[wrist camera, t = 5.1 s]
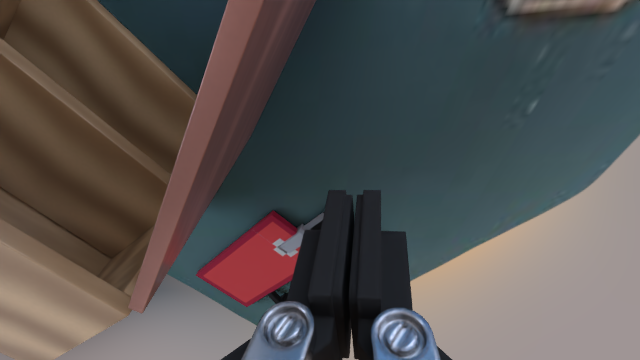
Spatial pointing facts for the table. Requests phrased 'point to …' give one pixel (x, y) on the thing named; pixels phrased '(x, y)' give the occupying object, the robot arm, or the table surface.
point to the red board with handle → (259, 260)
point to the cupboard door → (220, 122)
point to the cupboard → (78, 169)
